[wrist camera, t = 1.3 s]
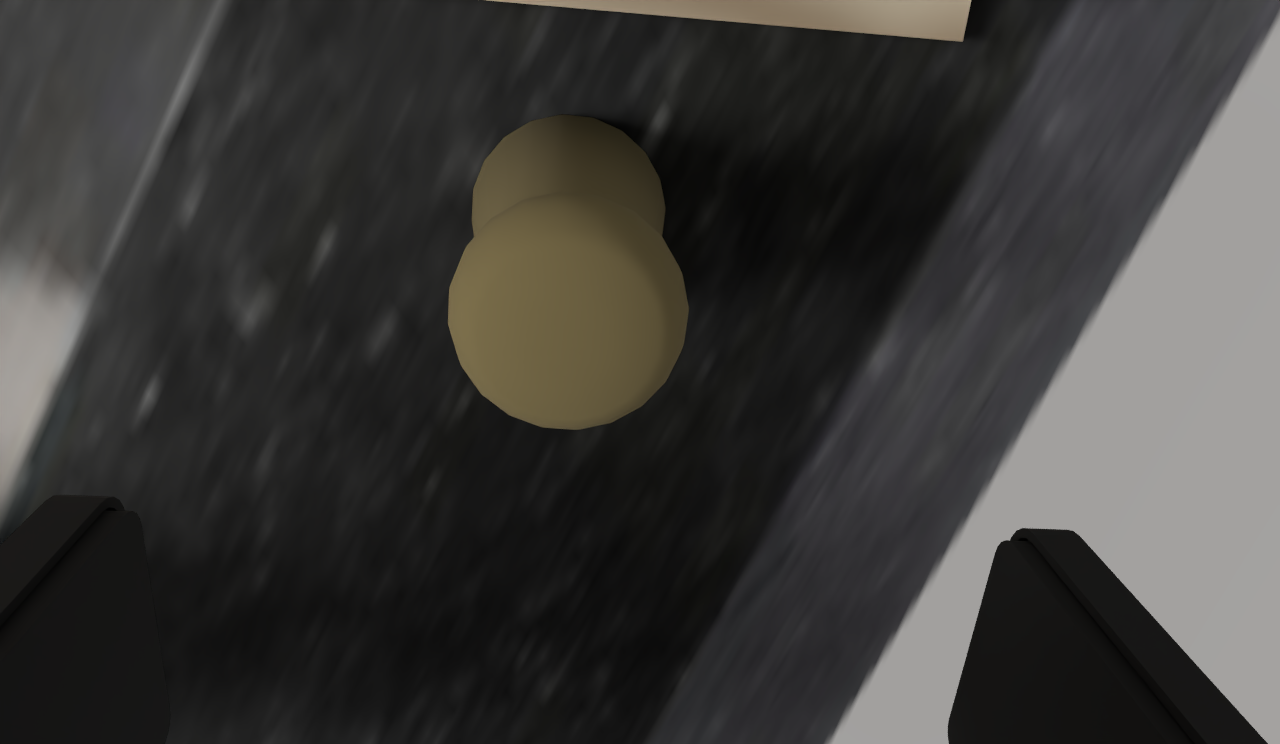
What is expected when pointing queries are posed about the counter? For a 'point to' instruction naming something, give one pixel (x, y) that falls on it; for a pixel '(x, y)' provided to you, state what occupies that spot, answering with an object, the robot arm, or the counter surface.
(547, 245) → the cork
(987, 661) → the robot arm
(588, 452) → the counter surface
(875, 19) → the socket board
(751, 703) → the counter surface
